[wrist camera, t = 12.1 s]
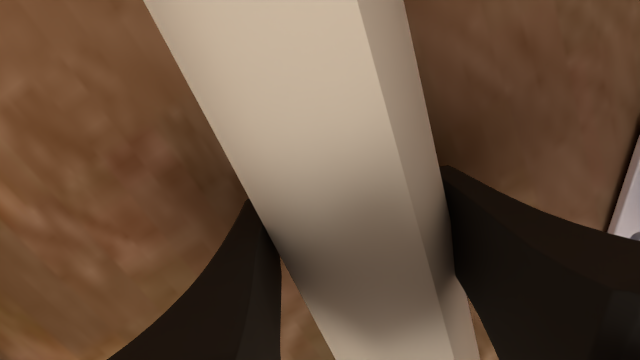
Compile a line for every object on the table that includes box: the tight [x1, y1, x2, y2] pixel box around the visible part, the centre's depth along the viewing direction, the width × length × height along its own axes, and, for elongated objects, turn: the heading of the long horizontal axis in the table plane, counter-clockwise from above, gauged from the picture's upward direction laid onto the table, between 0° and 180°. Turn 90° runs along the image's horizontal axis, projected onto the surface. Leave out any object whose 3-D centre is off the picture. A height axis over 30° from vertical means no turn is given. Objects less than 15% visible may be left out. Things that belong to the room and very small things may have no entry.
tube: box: [143, 0, 480, 360], centre depth 12 cm, size 5×5×25 cm
